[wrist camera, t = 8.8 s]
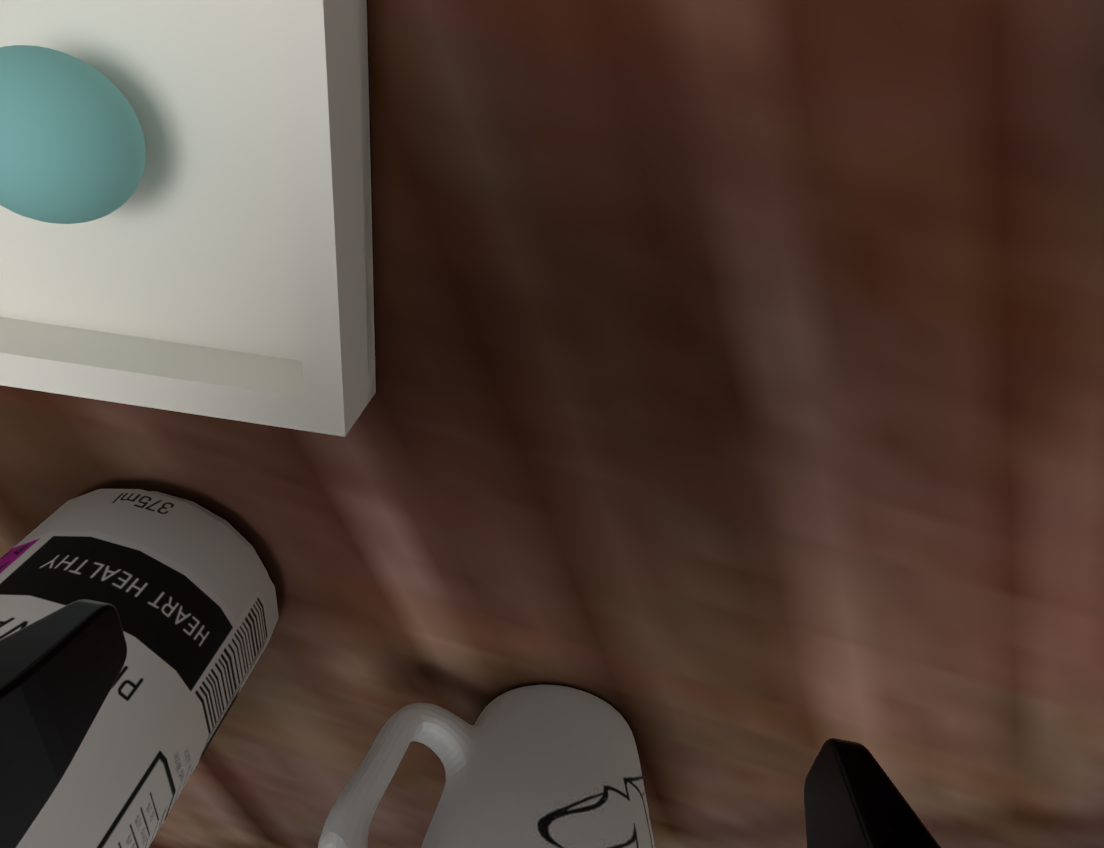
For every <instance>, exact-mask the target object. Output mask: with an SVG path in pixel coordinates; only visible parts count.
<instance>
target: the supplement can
mask: <svg viewBox="0 0 1104 848" xmlns="http://www.w3.org/2000/svg"><path fill="white" fill-rule="evenodd" d="M82 599H88V600H94V601H99V602H104V603H109V604H112V605H113V606H114V607H115V608H116V609H117V611H118V614H119V618H120V621H121V625H122V629H123V633H124V636H125V640H126V644H127V656H126V660H125V663H124V666H123V668H122V670H121V672H120V673H119V675H118V677H117V679H116V681H115V683H114V684H113V686H112V688H111V690H110V692H109V694H108V695H107V697H106V699H105V701H104V703H103V705H102V706H101V708H100V710H99V712H98V714H97V716H96V717H95V719H94V721H93V723H92V725H91V727H90V728H89V730H88V732H87V734H86V736H85V738H84V739H83V741H82V743H81V745H80V747H79V749H78V750H77V752H76V754H75V756H74V758H73V760H72V761H71V763H70V765H69V767H68V768H67V770H66V772H65V774H64V775H63V777H62V779H61V781H60V782H59V784H58V785H57V787H56V788H55V790H54V792H53V793H52V795H51V796H50V798H49V799H48V801H47V802H46V804H45V805H44V807H43V808H42V810H41V811H40V813H39V814H38V816H37V817H36V819H35V820H34V822H33V823H32V825H31V826H30V828H29V829H28V831H27V832H26V834H25V835H24V837H23V838H22V840H21V841H20V842H19V844H18V845H17V847H16V848H149V846H150V844H151V842H152V841H153V839H154V837H155V836H156V834H157V832H158V831H159V829H160V827H161V825H162V824H163V822H164V820H165V819H166V817H167V815H168V813H169V812H170V810H171V808H172V807H173V805H174V803H175V802H176V800H177V798H178V796H179V795H180V793H181V791H182V790H183V788H184V786H185V785H186V783H187V781H188V779H189V778H190V776H191V774H192V773H193V771H194V769H195V767H196V766H197V764H198V762H199V761H200V759H201V757H202V756H203V754H204V752H205V750H206V749H207V747H208V745H209V744H210V742H211V740H212V738H213V737H214V735H215V733H216V732H217V730H218V728H219V727H220V725H221V723H222V721H223V720H224V718H225V716H226V715H227V713H228V711H229V709H230V708H231V706H232V704H233V703H234V701H235V699H236V698H237V696H238V694H239V692H240V691H241V689H242V687H243V686H244V684H245V682H246V680H247V679H248V677H249V675H250V674H251V672H252V670H253V669H254V667H255V665H256V663H257V662H258V660H259V658H260V657H261V655H262V653H263V651H264V650H265V648H266V646H267V645H268V643H269V641H270V639H271V636H272V633H273V631H274V628H275V626H276V623H277V621H278V618H279V614H278V606H277V599H276V591H275V586H274V585H273V583H272V581H271V579H270V578H269V576H268V572H267V570H266V569H265V567H264V565H263V563H262V562H261V560H260V558H259V556H258V555H257V553H256V551H255V549H254V548H253V546H252V545H251V544H250V543H249V542H248V541H247V540H246V539H245V538H244V537H243V536H242V535H241V534H240V533H239V532H238V531H237V530H235V529H234V528H233V527H232V526H231V525H230V524H229V523H228V522H227V521H226V520H224V519H222V518H221V517H219V516H217V515H215V514H214V513H212V512H210V511H208V510H207V509H205V508H203V507H201V506H200V505H198V504H196V503H194V502H192V501H189V500H186V499H182V498H179V497H175V496H172V495H168V494H165V493H161V492H158V491H145V490H142V489H97V490H95V491H92V492H90V493H87V494H84V495H82V496H79V497H76V498H74V499H71V500H69V501H67V502H66V503H65V504H63V505H62V506H61V507H60V508H59V509H58V510H56V511H55V512H54V513H53V514H52V515H51V516H49V517H48V518H47V519H46V520H45V521H44V522H42V523H41V524H40V525H39V526H38V527H37V528H35V529H34V530H33V531H32V532H31V533H30V534H28V535H27V536H26V537H25V538H24V539H23V540H21V541H20V542H19V543H18V544H17V545H16V546H14V547H13V548H12V549H11V550H10V551H9V552H8V553H6V554H5V555H4V556H3V557H2V558H1V559H0V640H1V639H3V638H5V637H7V636H9V635H11V634H13V633H15V632H17V631H18V630H20V629H22V628H24V627H26V626H28V625H30V624H32V623H34V622H36V621H38V620H39V619H41V618H43V617H45V616H47V615H49V614H51V613H53V612H55V611H57V610H58V609H60V608H62V607H64V606H66V605H68V604H70V603H72V602H74V601H77V600H82Z"/></svg>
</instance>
